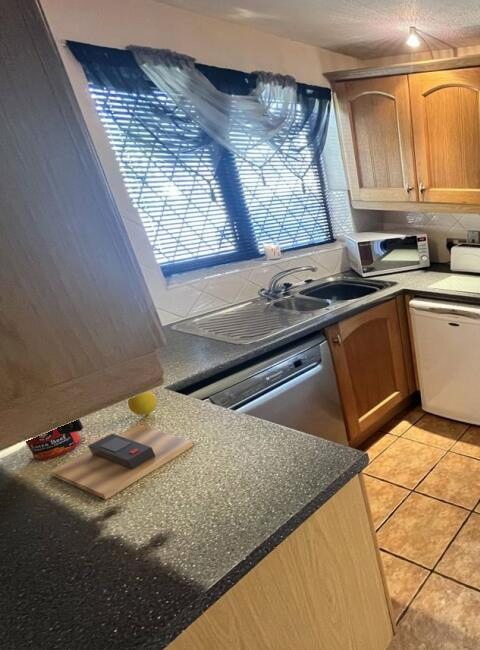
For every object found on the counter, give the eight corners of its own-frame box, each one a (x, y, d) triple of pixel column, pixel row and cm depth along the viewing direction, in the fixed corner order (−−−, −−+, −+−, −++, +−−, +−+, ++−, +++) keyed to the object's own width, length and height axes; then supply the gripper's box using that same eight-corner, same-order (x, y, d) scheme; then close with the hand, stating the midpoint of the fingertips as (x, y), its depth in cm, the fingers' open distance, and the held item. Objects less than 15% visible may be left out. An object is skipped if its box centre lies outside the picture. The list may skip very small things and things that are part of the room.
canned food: (30, 465, 89) (7, 426, 85) (39, 447, 95) (18, 410, 91) (78, 450, 94) (58, 412, 90) (83, 433, 99) (65, 398, 95)
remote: (92, 454, 90) (87, 445, 89) (116, 441, 94) (112, 432, 93) (131, 469, 85) (127, 460, 84) (155, 455, 89) (151, 446, 88)
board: (52, 475, 86) (49, 470, 85) (142, 429, 101) (140, 424, 100) (106, 499, 79) (103, 494, 79) (193, 445, 94) (191, 441, 94)
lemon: (161, 406, 110) (151, 382, 107) (160, 415, 106) (150, 390, 103) (135, 414, 107) (124, 389, 104) (133, 423, 103) (122, 398, 100)
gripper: (55, 324, 76) (91, 397, 82) (-21, 364, 61) (30, 450, 67) (103, 318, 78) (134, 390, 84) (41, 355, 63) (85, 439, 69)
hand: (88, 416), depth 76 cm, fingers open, 9 cm apart
